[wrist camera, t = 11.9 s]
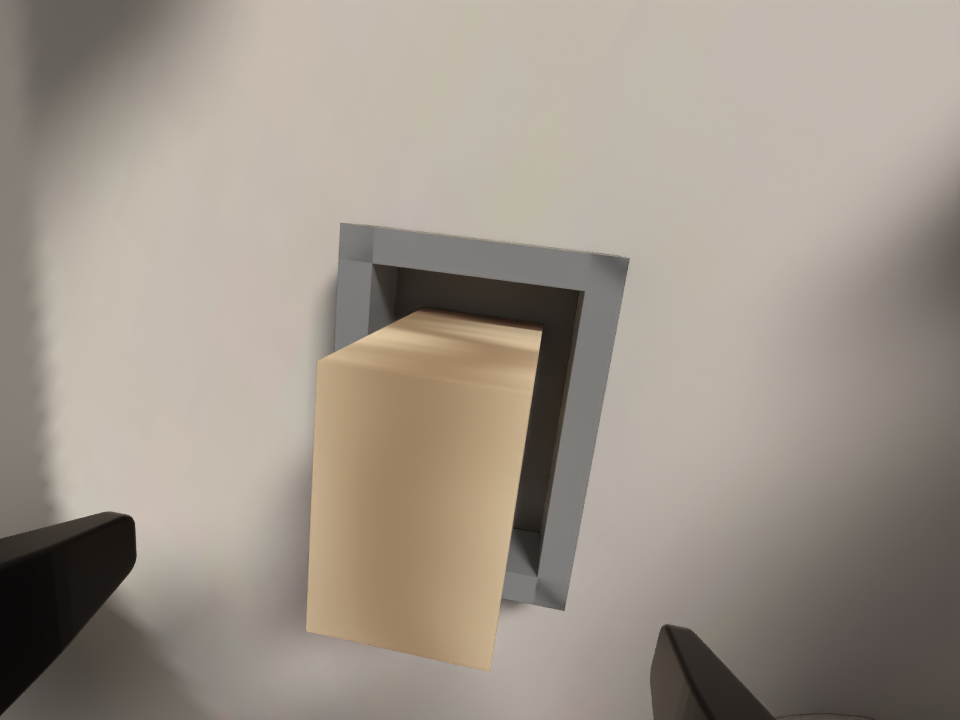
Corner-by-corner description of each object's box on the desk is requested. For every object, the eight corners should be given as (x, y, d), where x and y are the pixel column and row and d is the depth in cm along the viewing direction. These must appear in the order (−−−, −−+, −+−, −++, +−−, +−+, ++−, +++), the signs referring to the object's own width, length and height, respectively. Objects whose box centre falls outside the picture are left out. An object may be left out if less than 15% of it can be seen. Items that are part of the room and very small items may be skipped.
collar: (371, 225, 17) (340, 222, 14) (618, 255, 16) (629, 258, 13) (353, 522, 19) (324, 562, 17) (563, 562, 18) (564, 610, 16)
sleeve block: (409, 469, 19) (305, 630, 11) (425, 306, 17) (317, 361, 9) (518, 488, 18) (489, 672, 10) (543, 323, 17) (532, 395, 9)
